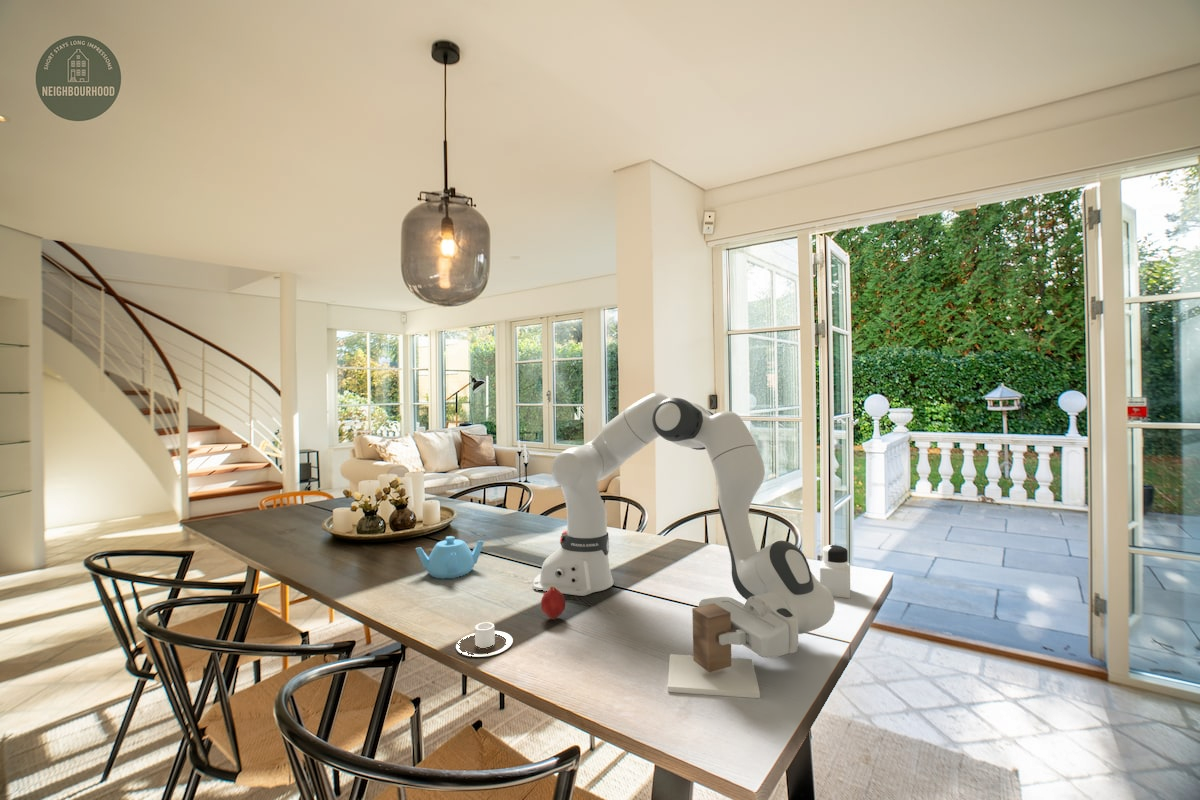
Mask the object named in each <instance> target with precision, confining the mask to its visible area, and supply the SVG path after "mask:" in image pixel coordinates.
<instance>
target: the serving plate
mask: <svg viewBox="0 0 1200 800" xmlns="http://www.w3.org/2000/svg"><path fill="white" fill-rule="evenodd" d="M667 677H668V678H667V693H676V694H677V693H680V694H691V695H692V694H693V695H704V696H705V695H707V696H719V697H720V696H721V697H723V696H724V697H733V698H735V697H736V698H751V699H752V698H753V699H761V691H760V687H759V684H758V679H757V674H756V671H755V666H754V663H753V659H752V658H741V657H731V666H730V667H727V668H723V669H720V670H716V671H713V672H708V671H707V670H705V669H704V668H703V667H701V666H700V665H699V664H697V663H696V662H695V661H694V660H693V655H690V654H676V653H675V654H674V653H670V654H669V663H668V675H667Z"/></svg>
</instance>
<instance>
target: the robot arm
mask: <svg viewBox="0 0 1200 800" xmlns="http://www.w3.org/2000/svg"><path fill="white" fill-rule="evenodd" d="M658 437H661V438H663V439H664V440H666V441H668V442H671V443H673V444H675V445H677V446H680V447H685V448H690V449H692V450H696V451H698V450H700V451H703V450H706V452H707V454H708V456H709V460H710V462H711V465H712V468H713V471H714V475H715V480H716V484H717V494H718V495H717V504H718V511H719V515H720V520H721V524H722V528H723V531H724V535H725V539H726V543H727V547H728V551H729V555H730V562H731V578H732V583H733V585H734V587H735V589H736V591H737V592H738V593H739V595H740V596H741V597H742V598H744V599H745V603H742V602H741V601H739V600H736V599H734V598H732V597H729V596H717V597H710V598H702V599H701V600H700V601H699V603H698V607H700V606H704V605H709V604H713V603H714V604H716V605H718V606H720V607H721V608H723V609H725V610H727V611H728V612H730V613H731V632H728V633H726V632H724V631H722V632H718V633H717V634H716V642H718V643H719V644H721V645H726V644H731V645H736V646H744V647H745V648H747V649H749V651H752V652H753V653H755V654H756V655H758V656H759V657H762V658H767V659H772V658H776V657H781V656H784V655H786V654H793V653H796V652H798V649H799V635H803V634H806V633H809V632H812V631H815V630H817V629H820V628H822V627H824V626H825V625H826V624H828V623H829V622H830V621H831V620H832V618H833V616H834V614H835V613H834V612H835V600H834V596H832V594H831V592H830V591H829V590H828V588H827V587H825V586H824V585H823V584H821V583H820V580H818V579H817V578H816V577H815V576H814V574H813V573H812V571H811V568H810V565H809V562H808V560H807V557H806V556H805V554H804V553H803V552H802V550H801V549H800V548H799V547H797V546H796V545H795V544H793V543H791V542H789V541H787V540H778V541H775V542H773V543H770V544H769V545H767V546H764V547H763V548H761V549H760V550H757V547H756V543H755V539H754V535H753V531H752V528H751V523H750V520H749V511H750V507H751V504H752V502H753V499H754V498H755V496H756V494H757V493H758V491H759V489H760V488H761V486H762V484H763V482H764V478H765V475H766V471H765V465H764V460H763V458H762V455H761V452H760V451H759V449H758V446H757V444H756V442H755V440H754V438H753V436H752V434H751V432H750V430H749V428H748V427H747V425H746V423H745V422H744V421H743V419H742V418H741V417H740V415H739V414H737V413H735V412H734V411H730V410H728V411H727V410H725V411H720V412H716V413H713V412H712V411H709V410H708V409H705V407H703V406H701V405H699V404H698V403H694V402H690V401H688V400H686V399H683V398H680V397H667V396H666V395H665V394H663V393H661V392H653V393H650V394H648V395H646V396H644V397H642V398H640V399H639V400H636V401H635V402H633V403H632V404H631V405H629V406H628V407H626V408H625V409H624V410H622V411H621V412H620V413H619V414H617V415H616V416H614V418H612V419H611V420H609V421H608V422H607V423H605V424H604V425H603V427H602V429H601V430H600V431H599V433H598V434H597V435H596V436H595V437H594V438H592V439H591V440H590V441H589V442H586V443H583V444H581V445H578V446H572V447H569V448H567V449H565V450H563V451H561V452H560V453H558V454H557V455H556V456H555V457H554V458H553V461H552V464H551V473H552V478H553V480H554V481H555V482H556V484H558V485H559V487H560V488H561V491H562V494H563V495H562V496H563V497H564V501H565V507H566V523H567V524H566V526H567V527H566V528H567V530H564V531H563V532H562V533H561V536H560V538H559V543H560V547H558V548H557V549H556V550H555V551H554V552H553V553H551V554H550V555H549V556H547V557H546V559H544V561H543V563H542V566H541V570H540V573H539V574H537V576H536V577H535V578H534V579H533V581H532V588H534V589H536V590H535V591H538V590H543V591H542V592H546V591H548V590H550V588H551V586H555V588H556V589H557V590H559V591H560V592H561V593H562V594H563V595H564V594H565V595H573V596H580V597H581V596H582V597H583V596H584V597H585V596H587V595H590V594H592V593H596V592H601V591H602V592H603V591H605V590H607V589H609V588H611V587H612V586H613V585H614V579H613V576H612V572H611V567H610V566H611V565H610V561H609V552H610V538H609V533H608V530H607V529H608V526H607V525H608V523H607V505H606V503H605V501H603V499H602V497H601V494H600V490H599V485H598V483H599V482H600V481H603V480H605V479H607V478H608V477H609V476H610V475H611V474H613V473H614V472H615V471H616V470H618V469H619V468H620V467H621V466H622V465H623V464H624V463H626V461H627V460H628V459H630V458H631V457H632V456H635V454H636V453H638V452H640V450H642V449H643V448H644V447H646V446H648V445H649V444H650V443H651V442H653V441H654V440H655V439H657V438H658ZM534 589H533V590H534Z"/></svg>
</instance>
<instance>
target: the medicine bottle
mask: <svg viewBox="0 0 1200 800" xmlns="http://www.w3.org/2000/svg"><path fill="white" fill-rule="evenodd" d="M848 561H849V559H848V549H847V548H845V547H844V546H841V545H838V544H837V545H836V544H829V545H825V546H823V547H822V560H821V561H820V565H819V582H820V583H821V584H823V585H824V586H825V587H827V588H828V590H829V591H830V592H831V594H832V596H833V598H834V597H835V598H843V599H850V598H851V563H850V562H848Z"/></svg>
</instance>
